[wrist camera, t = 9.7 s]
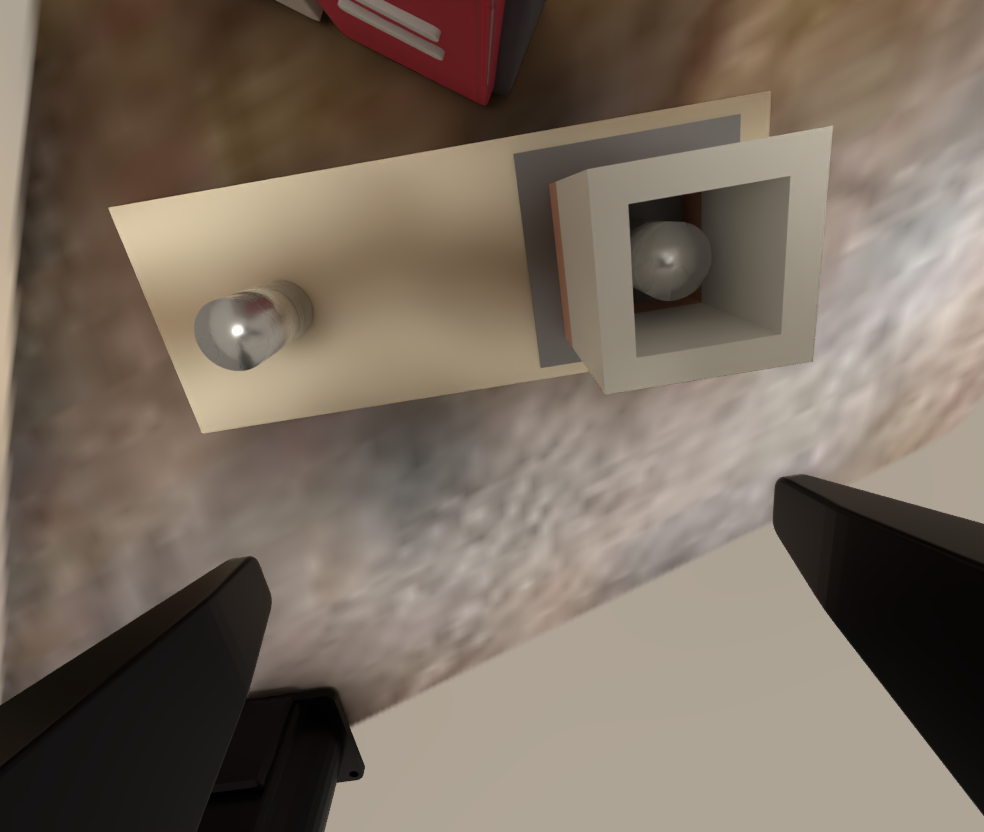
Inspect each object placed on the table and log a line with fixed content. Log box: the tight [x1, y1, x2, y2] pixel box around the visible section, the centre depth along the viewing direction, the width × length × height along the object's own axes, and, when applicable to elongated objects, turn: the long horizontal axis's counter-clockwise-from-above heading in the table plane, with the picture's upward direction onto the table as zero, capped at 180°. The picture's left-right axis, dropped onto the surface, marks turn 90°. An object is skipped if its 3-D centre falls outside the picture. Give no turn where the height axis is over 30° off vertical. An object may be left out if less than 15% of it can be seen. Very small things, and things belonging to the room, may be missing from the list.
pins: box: [194, 220, 712, 371], centre depth 15 cm, size 2×14×4 cm, turn 99°
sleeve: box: [549, 126, 833, 395], centre depth 14 cm, size 5×5×6 cm
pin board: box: [109, 91, 771, 434], centre depth 17 cm, size 8×21×1 cm, turn 99°
